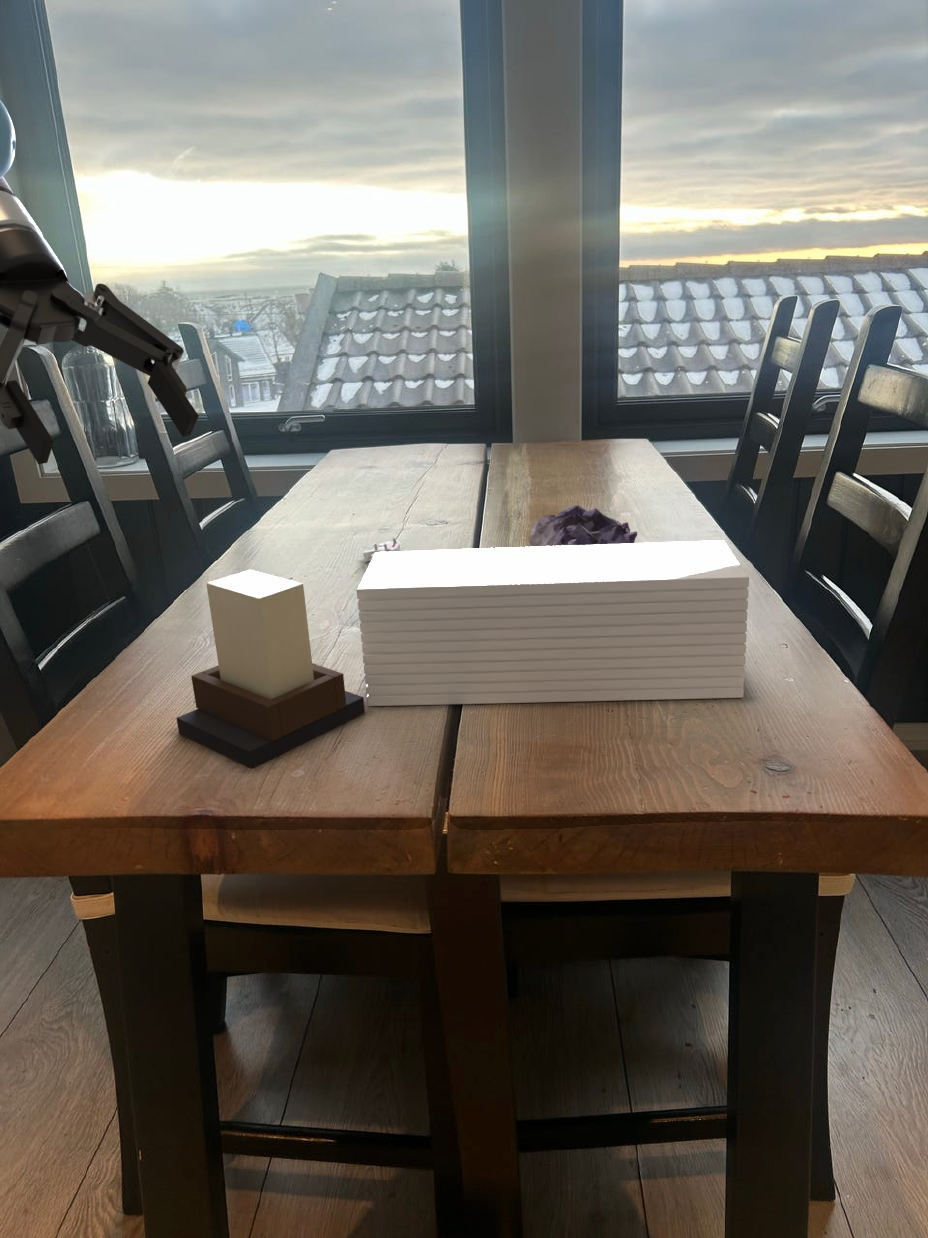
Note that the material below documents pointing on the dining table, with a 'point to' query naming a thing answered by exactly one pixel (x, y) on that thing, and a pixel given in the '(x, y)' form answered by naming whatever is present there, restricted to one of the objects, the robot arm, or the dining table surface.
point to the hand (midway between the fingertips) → (122, 439)
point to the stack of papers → (554, 624)
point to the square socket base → (265, 715)
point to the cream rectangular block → (261, 632)
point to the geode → (579, 529)
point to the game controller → (383, 549)
